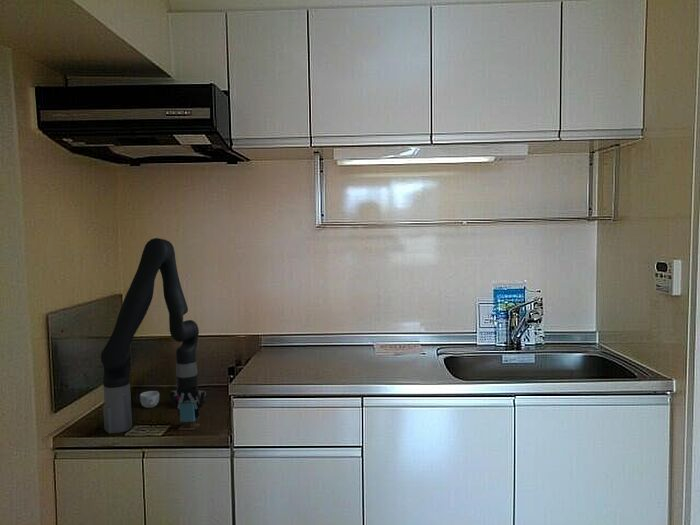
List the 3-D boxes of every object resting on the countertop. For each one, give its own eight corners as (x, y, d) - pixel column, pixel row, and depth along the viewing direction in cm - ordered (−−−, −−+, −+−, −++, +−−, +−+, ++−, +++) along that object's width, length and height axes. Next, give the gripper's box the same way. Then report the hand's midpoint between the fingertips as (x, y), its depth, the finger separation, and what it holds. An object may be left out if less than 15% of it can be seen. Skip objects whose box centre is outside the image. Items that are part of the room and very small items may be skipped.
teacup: (138, 405, 246) (137, 393, 246) (156, 402, 250) (156, 389, 250) (144, 412, 238) (143, 399, 237) (163, 408, 242) (162, 395, 241)
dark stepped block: (193, 430, 216) (192, 413, 215) (178, 430, 216) (177, 413, 216) (199, 424, 221) (199, 408, 221) (184, 424, 222) (184, 407, 222)
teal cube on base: (193, 421, 216) (192, 404, 216) (180, 421, 217) (179, 404, 216) (198, 416, 221) (197, 400, 221) (185, 416, 222) (184, 399, 221)
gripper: (209, 371, 220) (211, 414, 222) (173, 371, 222) (175, 414, 224) (201, 376, 213) (204, 421, 214) (164, 376, 215) (167, 421, 216)
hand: (189, 417), depth 219 cm, fingers closed on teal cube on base, 5 cm apart
